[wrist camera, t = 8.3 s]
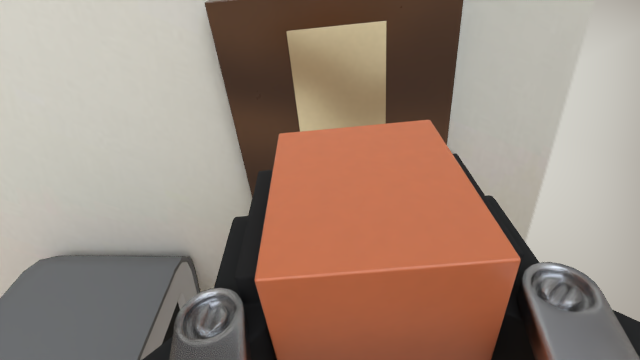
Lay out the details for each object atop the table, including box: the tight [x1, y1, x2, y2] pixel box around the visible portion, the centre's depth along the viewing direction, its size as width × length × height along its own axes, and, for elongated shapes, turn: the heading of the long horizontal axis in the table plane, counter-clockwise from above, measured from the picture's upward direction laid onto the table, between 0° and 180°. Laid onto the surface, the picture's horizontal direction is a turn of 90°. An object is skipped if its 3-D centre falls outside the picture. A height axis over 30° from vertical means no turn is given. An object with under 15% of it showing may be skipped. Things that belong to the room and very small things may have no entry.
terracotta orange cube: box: [254, 120, 521, 360], centre depth 9 cm, size 5×4×5 cm
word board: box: [205, 0, 463, 198], centre depth 23 cm, size 22×12×1 cm, turn 5°
